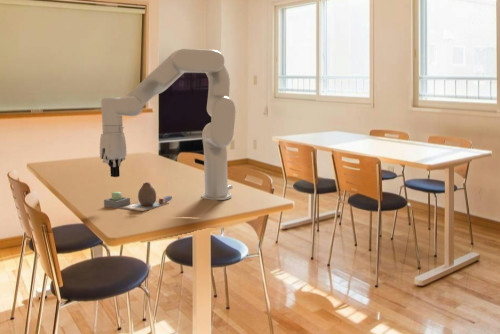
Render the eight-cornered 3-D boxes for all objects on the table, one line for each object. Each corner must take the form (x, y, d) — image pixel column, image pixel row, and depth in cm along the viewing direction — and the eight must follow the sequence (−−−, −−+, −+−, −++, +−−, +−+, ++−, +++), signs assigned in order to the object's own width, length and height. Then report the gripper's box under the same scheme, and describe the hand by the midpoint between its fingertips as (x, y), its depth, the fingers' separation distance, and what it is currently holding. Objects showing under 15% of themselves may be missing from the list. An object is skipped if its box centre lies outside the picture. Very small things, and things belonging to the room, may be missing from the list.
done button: (117, 200, 199) (116, 191, 199) (124, 201, 197) (123, 192, 197) (110, 202, 196) (109, 193, 196) (117, 203, 194) (116, 194, 194)
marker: (168, 199, 207) (168, 195, 207) (171, 199, 207) (172, 195, 207) (158, 203, 197) (159, 198, 197) (163, 203, 197) (163, 199, 197)
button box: (117, 203, 202) (117, 196, 201) (130, 205, 198) (129, 198, 198) (104, 207, 196) (103, 199, 195) (117, 209, 192) (116, 201, 192)
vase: (139, 208, 190) (137, 185, 189) (138, 203, 197) (136, 181, 195) (157, 206, 192) (156, 184, 190) (155, 202, 199) (154, 180, 197)
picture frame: (146, 201, 205) (145, 199, 204) (168, 204, 198) (168, 202, 198) (119, 209, 192) (119, 207, 192) (142, 213, 186) (142, 211, 186)
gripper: (119, 127, 200) (122, 172, 203) (90, 130, 187) (93, 178, 191) (133, 128, 196) (135, 174, 199) (105, 131, 184) (107, 180, 187)
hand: (115, 176), depth 195 cm, fingers closed
